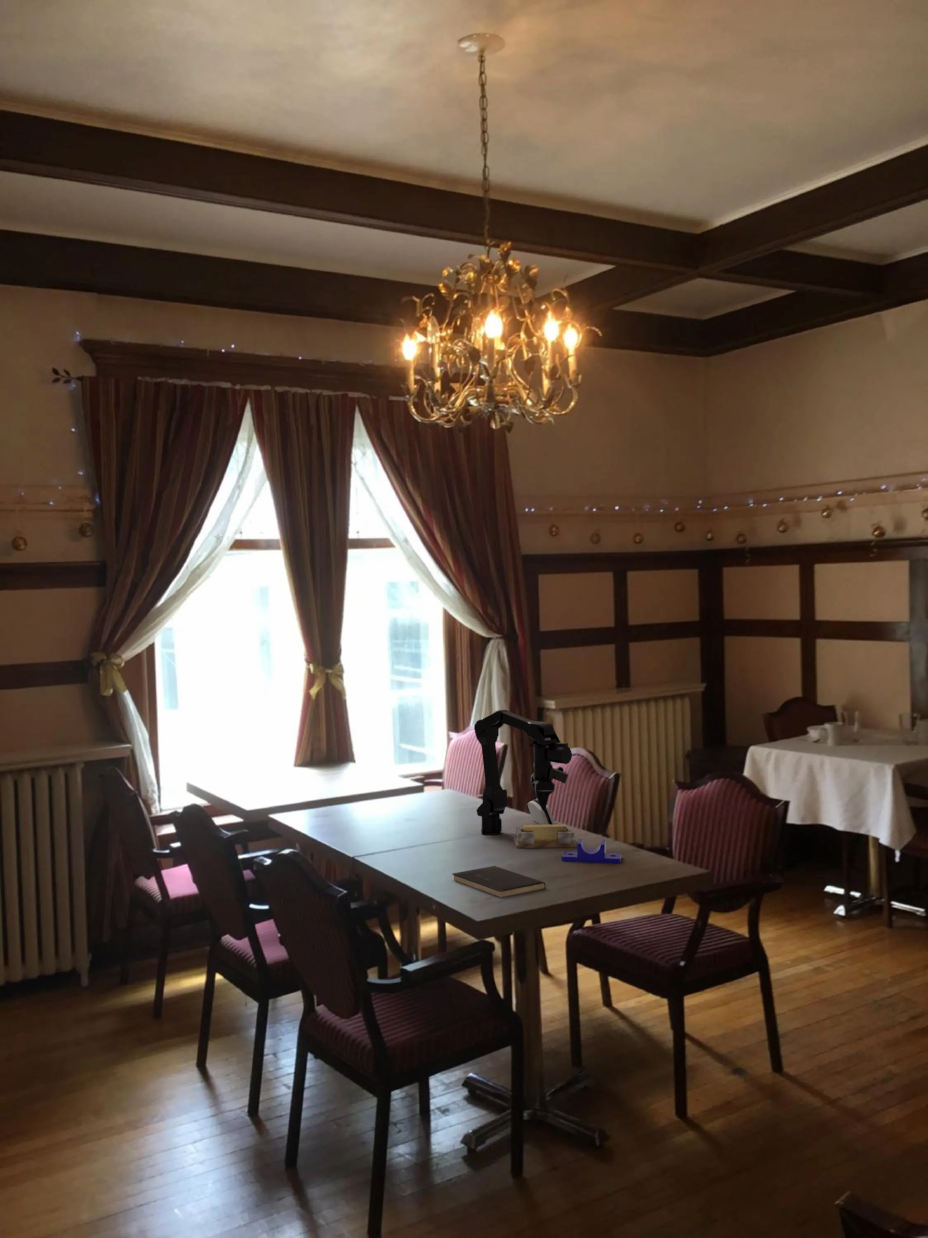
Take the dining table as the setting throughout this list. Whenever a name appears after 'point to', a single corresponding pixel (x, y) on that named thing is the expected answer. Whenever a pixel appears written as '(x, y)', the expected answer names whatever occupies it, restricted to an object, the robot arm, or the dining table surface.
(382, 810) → the dining table surface
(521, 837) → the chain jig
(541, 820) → the grey curved slab
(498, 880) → the hardcover book
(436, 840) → the dining table surface
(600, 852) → the mounting bracket
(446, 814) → the dining table surface
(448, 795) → the dining table surface
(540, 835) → the brass link
